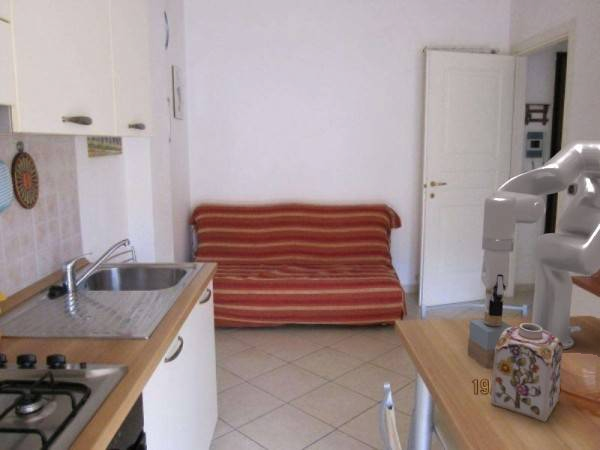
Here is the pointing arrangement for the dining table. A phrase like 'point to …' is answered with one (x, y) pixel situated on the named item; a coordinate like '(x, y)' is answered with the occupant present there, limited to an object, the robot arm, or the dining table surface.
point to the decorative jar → (527, 371)
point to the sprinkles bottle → (487, 318)
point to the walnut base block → (481, 354)
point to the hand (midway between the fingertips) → (493, 311)
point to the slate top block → (486, 333)
